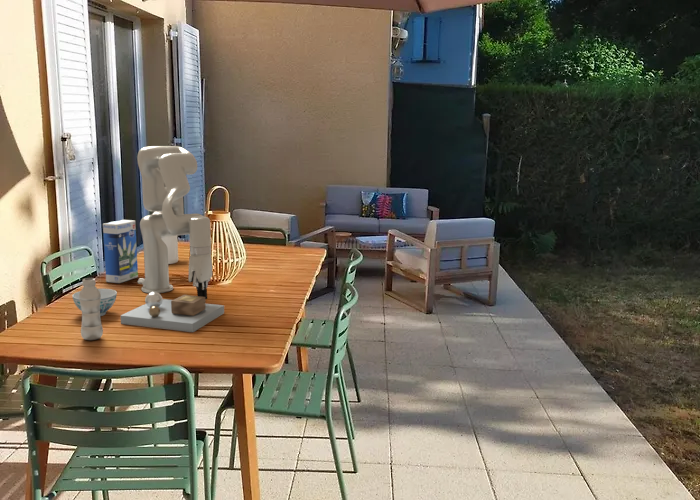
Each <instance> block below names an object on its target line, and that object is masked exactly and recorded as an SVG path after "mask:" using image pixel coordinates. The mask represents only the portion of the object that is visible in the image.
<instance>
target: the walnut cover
mask: <svg viewBox="0 0 700 500" xmlns="http://www.w3.org/2000/svg"><path fill="white" fill-rule="evenodd" d="M171 300H172V301H171V309H172V313H173V314H182V315H191V316H194V315H196V314H198V313H199V312H201V311H203V310H205V309H206V305H205V303H206V300H205V297H201V296H197V295H188V294H182V295H180V296H179V297H177V298H174V299H171Z"/></svg>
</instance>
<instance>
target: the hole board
mask: <svg viewBox="0 0 700 500" xmlns="http://www.w3.org/2000/svg"><path fill="white" fill-rule="evenodd" d="M162 299H163V301H162V304H161V305H160V306H159V309H160V314H159V316H157V317H152V316H150V314H149V309H150V307H148V306H147V305H146V303H145V304H142V305H140V306H138V307H135V308H133V309H132V310H129V311H127V312H125V313H122V314H121V315H120V324H121V325H128V326H129V325H130V326H135V327H136V326H137V327H143V328H144V327H146V328H155V329H163V330H170V331H171V330H172V331H178V332H179V331H180V332H188V333H194V332H196V331H197V330H200V329H201V328H202V327H204V326H206V325H207V324H209V323H211V322H212V321H214V320H216V319H217V318H219V317H220V316H222V315H224V314H225V305H222V304H215V303H206V302H205V305H206V309H205V310H203V311H201V312H199V313H198V314H196V315H194V316H191V315H182V314H173V313H172V309H171V301H172V300H173V299H166V298H162Z"/></svg>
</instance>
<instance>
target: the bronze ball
mask: <svg viewBox="0 0 700 500" xmlns="http://www.w3.org/2000/svg"><path fill="white" fill-rule="evenodd" d="M149 314H150V316H152V317H157V316H159V314H160V309H159V307H157V306H153V307H151V308H150V309H149Z"/></svg>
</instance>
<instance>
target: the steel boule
mask: <svg viewBox="0 0 700 500" xmlns="http://www.w3.org/2000/svg"><path fill="white" fill-rule="evenodd" d="M163 299H164V298H163V296H162V295H161V293H157V292H151V293H147V295H145V299H144V300H145V301H144V302H145V304H146V305H147V306H148V307H150V308H151V307H153V306H157V307H159V306H160V305H161V304H162V301H163Z"/></svg>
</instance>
